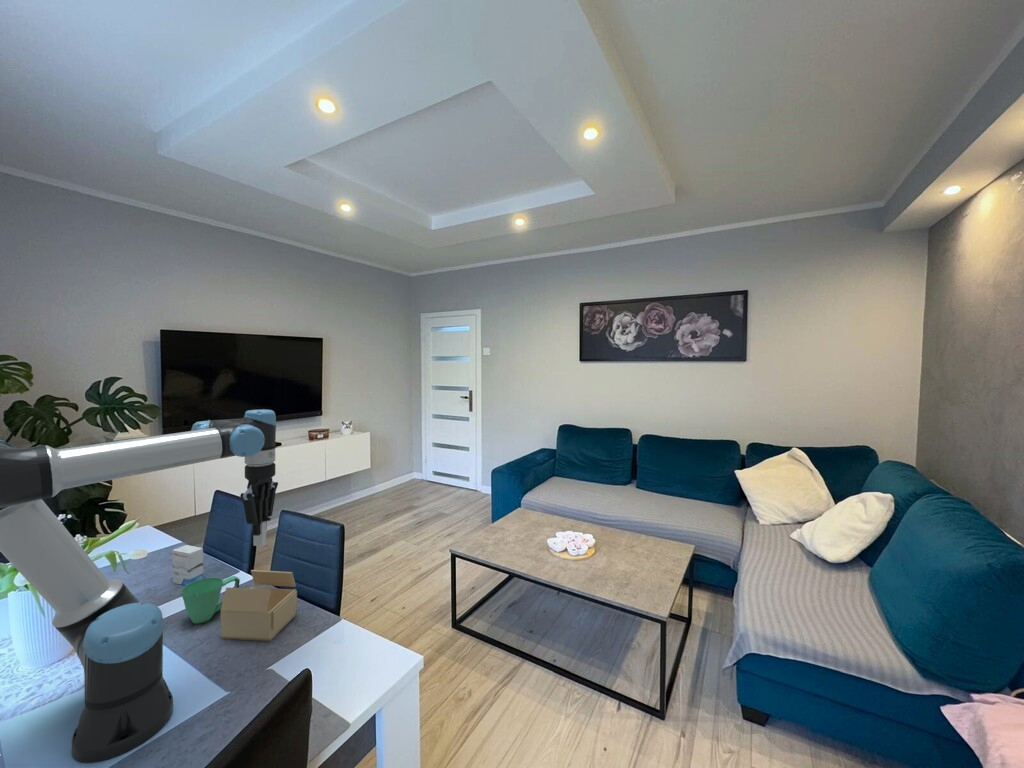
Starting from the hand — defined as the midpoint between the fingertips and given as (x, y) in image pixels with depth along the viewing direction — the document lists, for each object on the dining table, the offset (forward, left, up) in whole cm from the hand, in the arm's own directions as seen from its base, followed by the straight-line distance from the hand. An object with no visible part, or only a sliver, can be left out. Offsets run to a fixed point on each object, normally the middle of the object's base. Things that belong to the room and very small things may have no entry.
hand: (259, 544), depth 116 cm
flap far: (+7, 0, -16) cm, 18 cm away
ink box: (+21, +41, -25) cm, 52 cm away
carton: (0, 0, -24) cm, 24 cm away
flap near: (-6, 0, -16) cm, 17 cm away
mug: (+4, +18, -25) cm, 31 cm away
